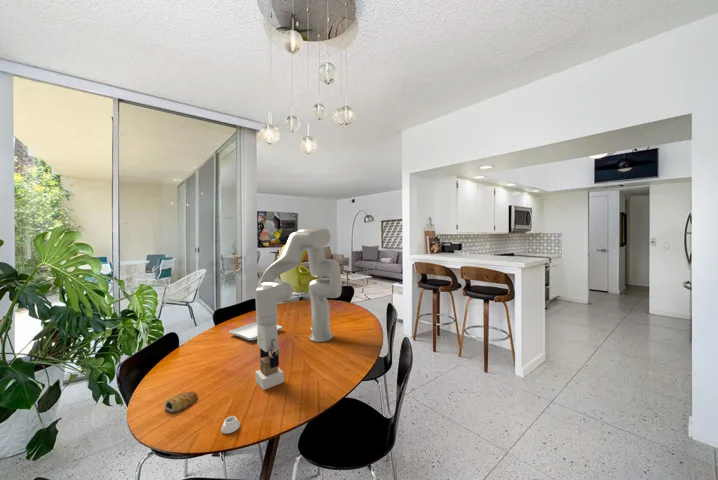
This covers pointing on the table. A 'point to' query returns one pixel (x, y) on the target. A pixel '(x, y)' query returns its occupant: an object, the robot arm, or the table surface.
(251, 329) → the salad plate
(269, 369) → the cube
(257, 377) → the base
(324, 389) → the table surface
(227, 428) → the white jar
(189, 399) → the pastry
